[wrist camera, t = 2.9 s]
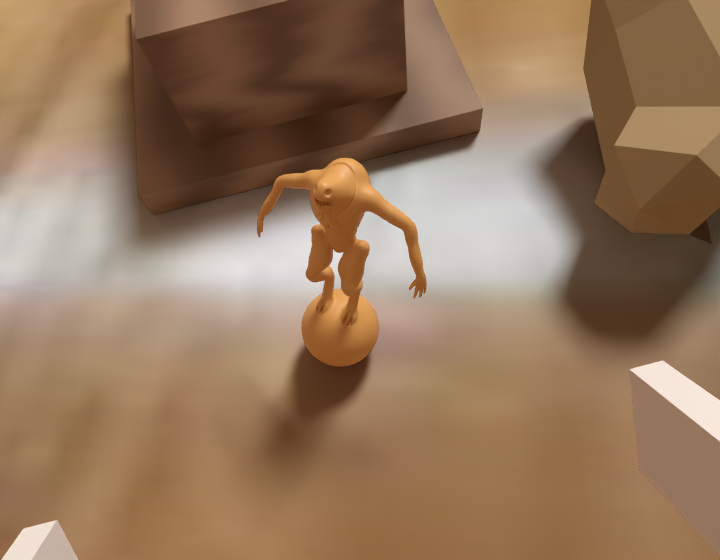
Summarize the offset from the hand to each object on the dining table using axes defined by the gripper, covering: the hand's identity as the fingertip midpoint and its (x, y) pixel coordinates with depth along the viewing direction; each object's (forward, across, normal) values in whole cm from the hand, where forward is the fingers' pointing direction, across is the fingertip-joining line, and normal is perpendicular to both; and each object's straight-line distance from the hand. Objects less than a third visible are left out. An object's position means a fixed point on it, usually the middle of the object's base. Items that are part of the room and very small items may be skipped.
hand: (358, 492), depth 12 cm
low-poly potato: (+21, +19, 0) cm, 28 cm away
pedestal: (+33, 0, +12) cm, 35 cm away
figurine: (+17, 0, -3) cm, 18 cm away
